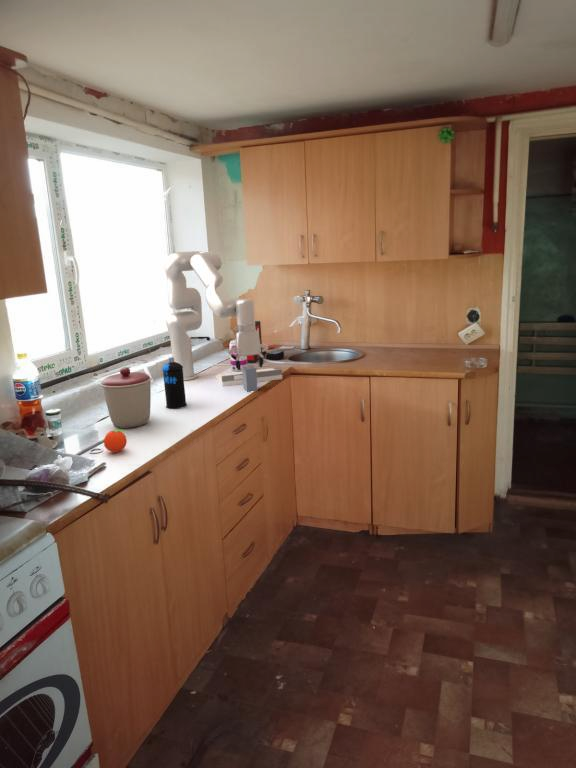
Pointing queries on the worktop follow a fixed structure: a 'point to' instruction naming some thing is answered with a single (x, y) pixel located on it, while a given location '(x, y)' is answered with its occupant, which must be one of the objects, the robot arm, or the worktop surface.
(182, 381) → the aerosol can
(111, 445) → the clementine
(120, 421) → the canister
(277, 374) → the shelf board
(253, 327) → the robot arm
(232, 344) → the supplement can
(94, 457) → the worktop surface
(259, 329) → the cleaning product box
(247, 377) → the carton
